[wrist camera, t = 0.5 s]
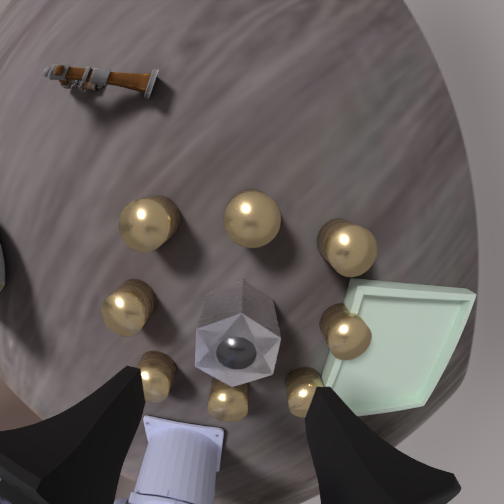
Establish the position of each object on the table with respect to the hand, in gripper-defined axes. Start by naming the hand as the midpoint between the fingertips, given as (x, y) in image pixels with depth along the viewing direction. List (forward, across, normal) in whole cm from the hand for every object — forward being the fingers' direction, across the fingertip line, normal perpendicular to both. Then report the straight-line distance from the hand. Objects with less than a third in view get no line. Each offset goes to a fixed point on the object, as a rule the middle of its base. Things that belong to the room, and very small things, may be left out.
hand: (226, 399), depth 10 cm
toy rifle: (+10, +10, -14) cm, 20 cm away
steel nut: (+9, 0, +1) cm, 9 cm away
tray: (+9, -14, +4) cm, 17 cm away
